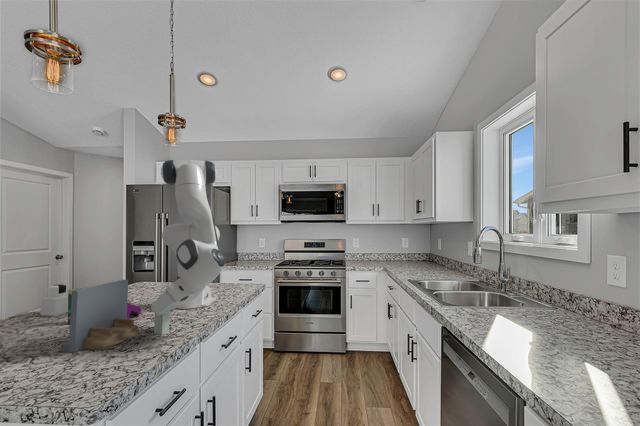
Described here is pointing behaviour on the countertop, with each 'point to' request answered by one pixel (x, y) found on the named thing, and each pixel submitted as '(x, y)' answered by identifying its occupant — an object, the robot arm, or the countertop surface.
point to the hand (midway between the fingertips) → (162, 313)
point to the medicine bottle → (55, 301)
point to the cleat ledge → (111, 334)
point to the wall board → (95, 311)
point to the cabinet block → (162, 323)
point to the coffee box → (70, 304)
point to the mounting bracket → (132, 310)
